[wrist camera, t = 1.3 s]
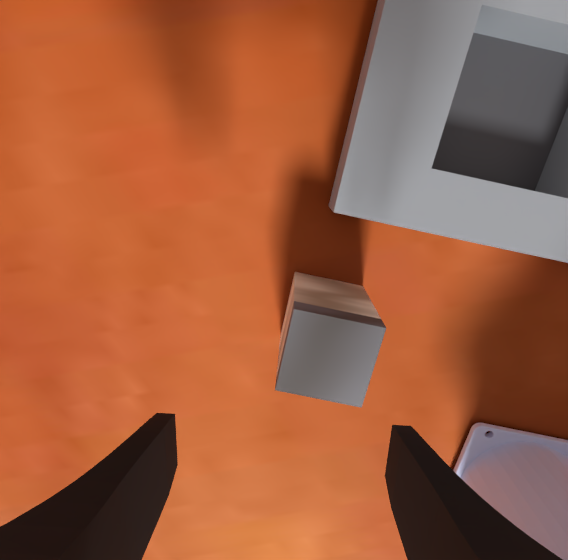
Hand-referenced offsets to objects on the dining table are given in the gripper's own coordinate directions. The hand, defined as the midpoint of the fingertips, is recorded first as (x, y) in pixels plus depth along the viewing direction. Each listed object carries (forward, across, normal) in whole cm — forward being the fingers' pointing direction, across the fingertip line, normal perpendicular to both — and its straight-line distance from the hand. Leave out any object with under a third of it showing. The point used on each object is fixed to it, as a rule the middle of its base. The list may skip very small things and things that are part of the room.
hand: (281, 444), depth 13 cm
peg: (+10, -2, -1) cm, 11 cm away
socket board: (+10, -10, -12) cm, 18 cm away
